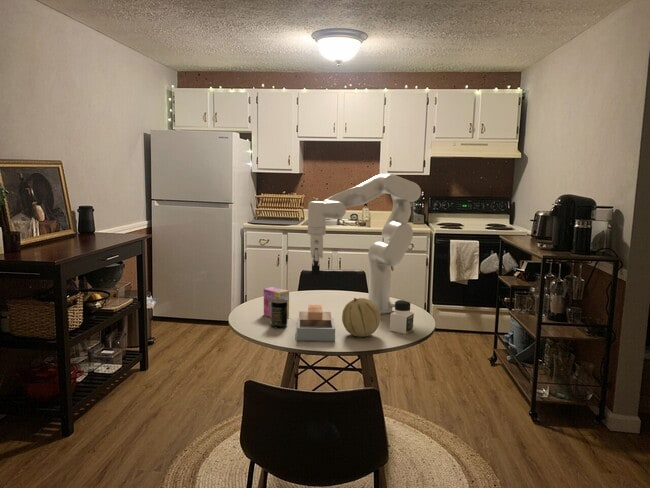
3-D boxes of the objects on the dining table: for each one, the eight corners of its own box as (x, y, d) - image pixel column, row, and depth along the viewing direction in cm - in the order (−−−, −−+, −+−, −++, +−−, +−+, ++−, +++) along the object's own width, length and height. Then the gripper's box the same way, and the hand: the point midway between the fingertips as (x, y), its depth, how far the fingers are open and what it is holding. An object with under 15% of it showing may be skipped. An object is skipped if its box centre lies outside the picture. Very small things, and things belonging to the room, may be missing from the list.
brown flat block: (330, 321, 207) (330, 311, 207) (331, 330, 196) (331, 320, 195) (299, 320, 207) (299, 311, 206) (298, 329, 195) (298, 319, 194)
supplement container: (288, 328, 196) (289, 302, 195) (271, 329, 195) (271, 303, 193) (285, 323, 203) (286, 298, 201) (269, 324, 201) (269, 299, 200)
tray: (332, 330, 195) (333, 317, 195) (334, 342, 181) (335, 328, 181) (297, 329, 195) (297, 317, 194) (296, 341, 181) (296, 328, 180)
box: (263, 315, 214) (263, 288, 212) (273, 312, 218) (273, 286, 216) (279, 320, 207) (279, 292, 205) (289, 317, 211) (289, 290, 209)
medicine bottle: (406, 334, 193) (407, 304, 191) (389, 330, 197) (390, 301, 195) (413, 329, 199) (414, 300, 197) (396, 326, 203) (398, 298, 201)
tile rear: (321, 311, 206) (321, 304, 206) (321, 315, 201) (322, 308, 201) (308, 311, 206) (308, 304, 206) (308, 315, 201) (308, 308, 200)
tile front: (321, 315, 201) (322, 308, 200) (322, 319, 195) (322, 312, 195) (308, 315, 200) (308, 308, 200) (308, 319, 195) (308, 312, 194)
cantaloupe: (387, 338, 187) (389, 299, 185) (356, 344, 179) (358, 304, 177) (364, 327, 200) (365, 291, 198) (333, 333, 192) (335, 295, 190)
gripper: (326, 233, 199) (325, 278, 202) (324, 229, 215) (323, 270, 218) (307, 232, 199) (306, 277, 201) (307, 228, 215) (306, 270, 218)
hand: (315, 273), depth 210 cm, fingers open, 3 cm apart
